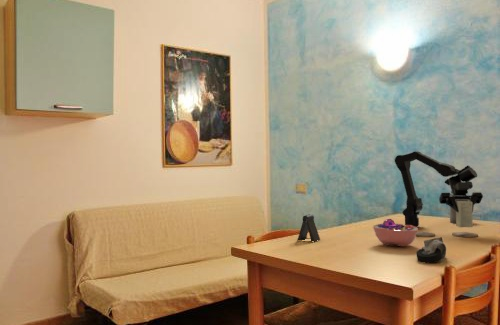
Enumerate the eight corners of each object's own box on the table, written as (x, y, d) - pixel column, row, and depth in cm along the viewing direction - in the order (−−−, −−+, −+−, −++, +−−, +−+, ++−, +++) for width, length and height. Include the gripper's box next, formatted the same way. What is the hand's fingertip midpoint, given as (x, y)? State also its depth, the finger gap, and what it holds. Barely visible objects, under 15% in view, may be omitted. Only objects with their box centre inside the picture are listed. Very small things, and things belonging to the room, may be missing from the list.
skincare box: (469, 226, 207) (469, 201, 207) (472, 227, 203) (473, 201, 202) (455, 226, 208) (455, 200, 208) (458, 227, 203) (459, 201, 203)
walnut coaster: (451, 236, 203) (451, 235, 203) (453, 232, 213) (453, 231, 213) (477, 238, 198) (477, 236, 198) (478, 234, 207) (478, 232, 207)
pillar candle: (472, 223, 238) (471, 196, 238) (454, 224, 238) (453, 197, 238) (463, 221, 248) (463, 195, 248) (446, 221, 248) (446, 195, 248)
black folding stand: (320, 240, 202) (319, 214, 202) (314, 242, 198) (314, 216, 197) (303, 238, 208) (302, 213, 207) (297, 240, 203) (296, 215, 203)
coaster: (409, 236, 207) (409, 234, 207) (412, 232, 216) (412, 231, 216) (433, 237, 201) (433, 236, 201) (436, 233, 211) (436, 232, 211)
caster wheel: (423, 270, 155) (413, 259, 165) (456, 264, 154) (444, 253, 164) (419, 253, 154) (410, 243, 164) (452, 246, 153) (441, 236, 163)
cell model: (399, 252, 173) (398, 224, 173) (364, 244, 191) (364, 218, 191) (428, 247, 181) (428, 220, 181) (392, 239, 199) (392, 215, 199)
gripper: (440, 176, 210) (448, 201, 199) (481, 175, 207) (491, 201, 197) (436, 190, 218) (443, 215, 207) (475, 190, 215) (484, 215, 205)
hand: (465, 211), depth 204 cm, fingers closed on skincare box, 6 cm apart
